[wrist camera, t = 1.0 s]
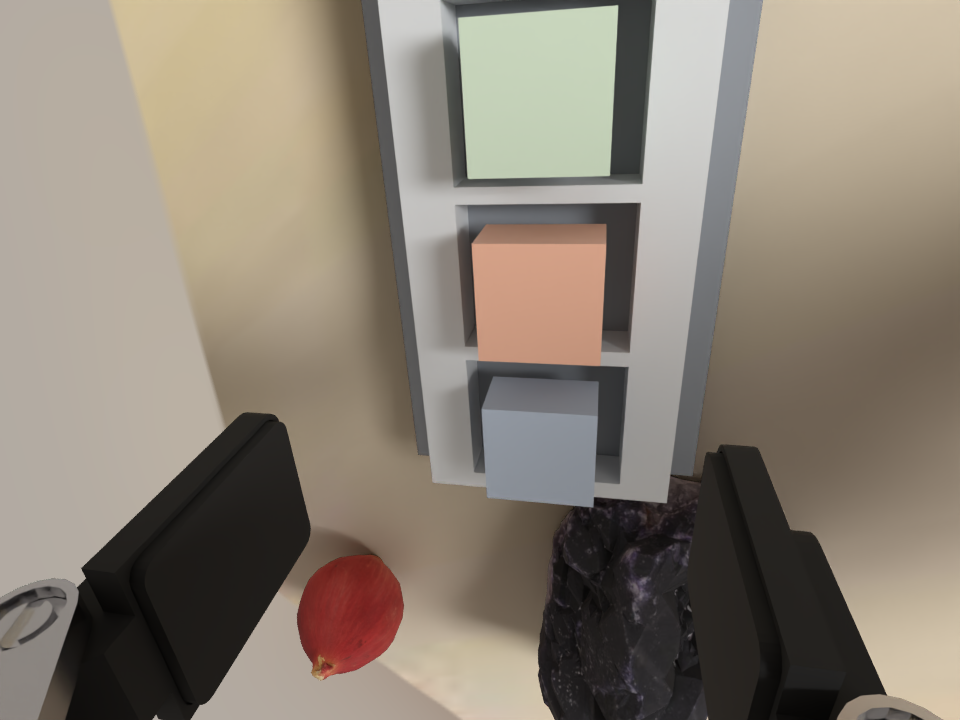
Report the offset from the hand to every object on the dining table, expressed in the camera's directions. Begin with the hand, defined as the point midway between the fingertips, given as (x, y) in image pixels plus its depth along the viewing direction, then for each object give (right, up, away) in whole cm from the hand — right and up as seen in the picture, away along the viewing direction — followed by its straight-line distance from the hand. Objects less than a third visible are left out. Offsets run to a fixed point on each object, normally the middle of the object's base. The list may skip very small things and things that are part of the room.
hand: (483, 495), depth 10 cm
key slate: (+3, 0, +13) cm, 13 cm away
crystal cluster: (+10, -9, +21) cm, 25 cm away
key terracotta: (+2, +5, +10) cm, 12 cm away
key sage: (+2, +11, +7) cm, 13 cm away
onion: (-7, -10, +25) cm, 28 cm away
